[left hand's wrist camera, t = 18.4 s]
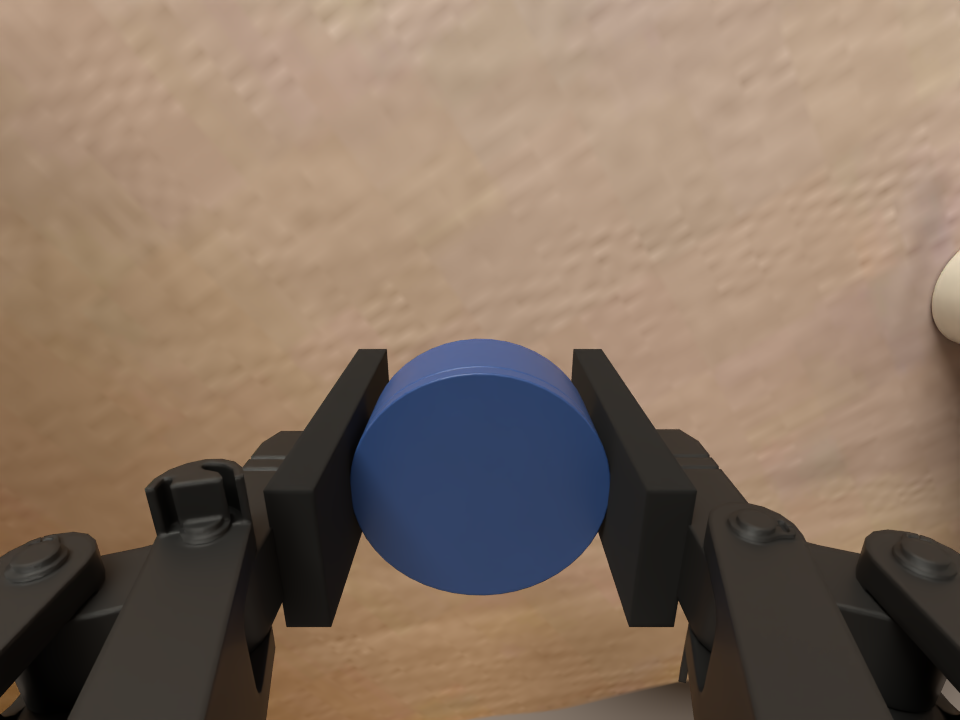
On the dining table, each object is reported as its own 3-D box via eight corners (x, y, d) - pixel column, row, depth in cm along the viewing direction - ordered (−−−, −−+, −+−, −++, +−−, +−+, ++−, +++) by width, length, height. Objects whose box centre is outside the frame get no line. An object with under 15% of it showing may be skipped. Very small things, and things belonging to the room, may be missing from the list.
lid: (451, 292, 11) (444, 319, 9) (635, 418, 12) (666, 467, 10) (329, 464, 12) (301, 520, 10) (503, 564, 13) (507, 631, 11)
